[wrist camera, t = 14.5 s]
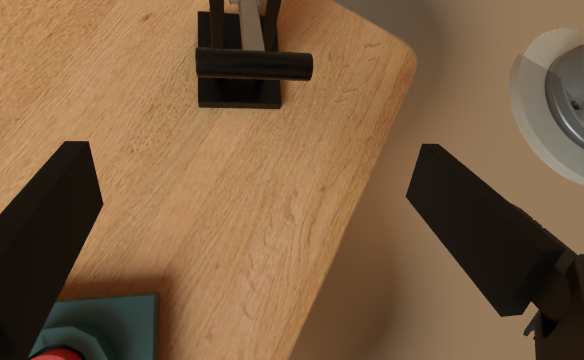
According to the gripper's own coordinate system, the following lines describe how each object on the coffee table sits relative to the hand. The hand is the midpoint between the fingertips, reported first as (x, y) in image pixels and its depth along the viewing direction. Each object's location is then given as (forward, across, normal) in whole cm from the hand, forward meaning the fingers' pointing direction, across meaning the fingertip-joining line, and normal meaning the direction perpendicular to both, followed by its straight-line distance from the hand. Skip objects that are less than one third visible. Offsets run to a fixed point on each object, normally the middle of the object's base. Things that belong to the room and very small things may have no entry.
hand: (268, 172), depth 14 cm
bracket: (+25, 0, -2) cm, 25 cm away
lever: (+13, 0, +3) cm, 13 cm away
